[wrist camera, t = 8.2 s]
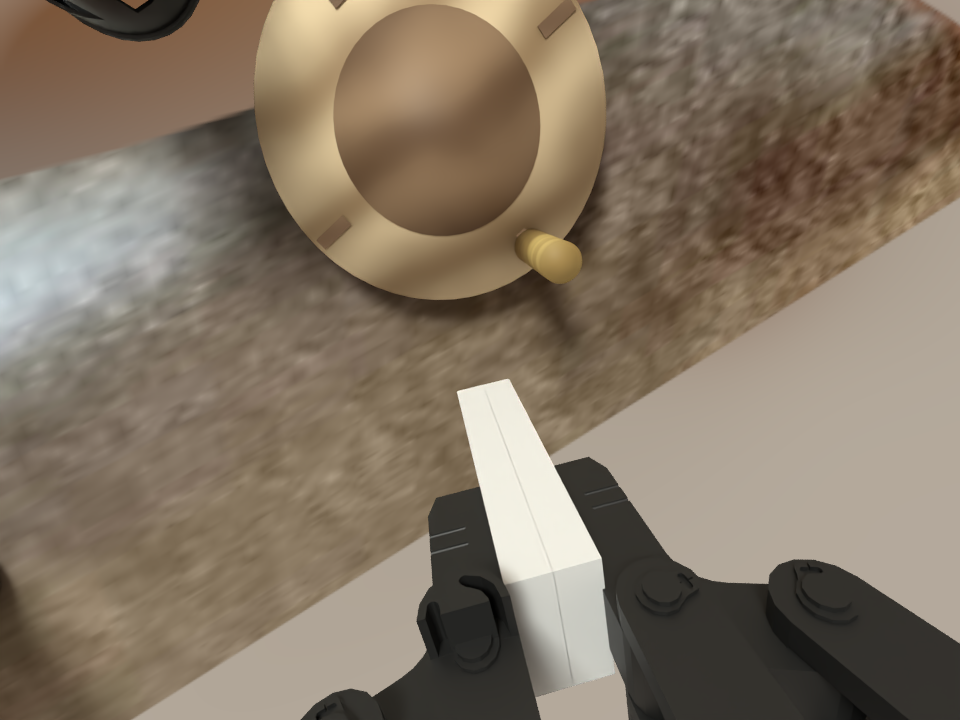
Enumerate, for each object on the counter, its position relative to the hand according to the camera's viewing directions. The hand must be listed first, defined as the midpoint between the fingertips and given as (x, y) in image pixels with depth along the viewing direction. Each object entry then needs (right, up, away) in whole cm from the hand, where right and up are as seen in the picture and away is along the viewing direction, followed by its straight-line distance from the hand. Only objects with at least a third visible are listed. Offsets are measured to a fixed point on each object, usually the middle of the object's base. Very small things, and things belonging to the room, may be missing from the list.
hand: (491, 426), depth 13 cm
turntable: (-3, +17, +17) cm, 25 cm away
